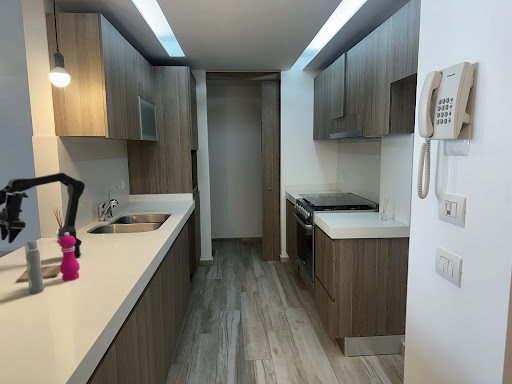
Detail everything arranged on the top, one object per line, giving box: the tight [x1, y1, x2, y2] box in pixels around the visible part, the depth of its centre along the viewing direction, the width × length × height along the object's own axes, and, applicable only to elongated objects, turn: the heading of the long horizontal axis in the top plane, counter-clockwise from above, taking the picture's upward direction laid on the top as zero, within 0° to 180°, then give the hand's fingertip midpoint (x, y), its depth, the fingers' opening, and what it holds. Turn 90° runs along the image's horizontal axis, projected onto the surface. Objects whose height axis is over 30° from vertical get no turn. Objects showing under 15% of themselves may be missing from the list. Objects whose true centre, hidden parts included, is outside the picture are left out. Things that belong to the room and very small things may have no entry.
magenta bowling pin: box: [58, 232, 81, 282], centre depth 136 cm, size 7×7×20 cm
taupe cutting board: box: [17, 264, 61, 283], centre depth 143 cm, size 14×14×1 cm
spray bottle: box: [24, 239, 45, 295], centre depth 124 cm, size 5×5×20 cm
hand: (6, 241), depth 144 cm, fingers open, 9 cm apart
